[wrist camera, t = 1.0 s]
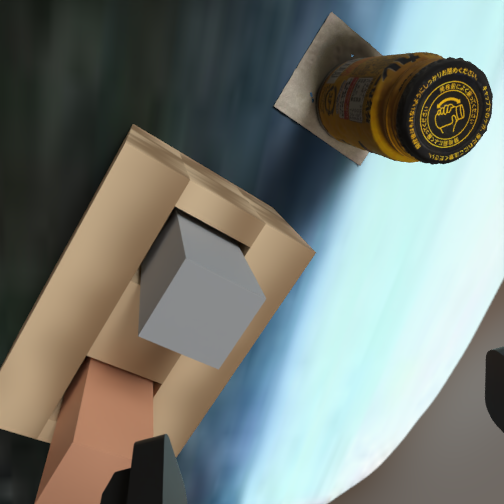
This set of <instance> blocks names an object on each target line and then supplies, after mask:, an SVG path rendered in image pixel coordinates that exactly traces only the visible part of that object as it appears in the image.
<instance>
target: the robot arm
mask: <svg viewBox="0 0 504 504" xmlns="http://www.w3.org/2000/svg"><path fill="white" fill-rule="evenodd" d="M485 381H486V382H485V402H486V407H487V410H488V412H489V414H490V416H491V418H492V420H493V421H494V422H495V424H496V425H497V426H498V427H499V428H500V429H501V430H502V431H503V433H504V347H500V348H496V349H493V350H490V351H488V353H487V355H486V380H485ZM100 504H187V498H186V492H185V487H184V482H183V479H182V476H181V473H180V470H179V466H178V463H177V460H176V457H175V454H174V451H173V448H172V445H171V442H170V439H169V436H168V435H167V434H163V435H159V436H156V437H152V438H148V439H144V440H140V441H136V442H135V443H134V446H133V454H132V462H131V468H128V469H124V470H121V471H117V472H114V474H113V476H112V478H111V479H110V481H109V483H108V485H107V486H106V488H105V490H104V491H103V493H102V496H101V502H100Z"/></svg>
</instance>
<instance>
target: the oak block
mask: <svg viewBox="0 0 504 504" xmlns="http://www.w3.org/2000/svg"><path fill="white" fill-rule="evenodd" d="M174 207H177V208H179V209H181V210H183V211H185V212H186V213H188V214H190V215H192V216H194V217H195V218H197V219H199V220H201V221H203V222H205V223H206V224H208V225H210V226H212V227H214V228H216V229H217V230H219V231H221V232H223V233H225V234H227V235H228V236H230V237H232V238H234V239H235V240H236V242H237V244H238V246H239V248H240V250H241V252H242V253H243V255H244V257H245V259H246V261H247V263H248V265H249V267H250V269H251V270H252V272H253V274H254V276H255V278H256V280H257V282H258V284H259V285H260V287H261V289H262V291H263V293H264V295H265V297H266V300H265V302H264V303H263V305H262V306H261V307H260V309H259V310H258V312H257V313H256V315H255V316H254V318H253V319H252V321H251V322H250V324H249V325H248V327H247V328H246V330H245V331H244V333H243V334H242V336H241V337H240V339H239V340H238V342H237V343H236V345H235V346H234V348H233V349H232V351H231V352H230V354H229V355H228V357H227V358H226V359H225V361H224V362H223V364H222V365H221V367H220V368H219V369H216V368H214V367H211V366H209V365H206V364H204V363H202V362H199V361H197V360H194V359H192V358H189V357H187V356H185V355H182V354H180V353H177V352H175V351H172V350H170V349H168V348H165V347H163V346H160V345H158V344H156V343H153V342H151V341H148V340H146V339H143V338H141V337H139V336H138V326H139V305H140V284H141V264H142V262H143V261H144V259H145V257H146V256H147V254H148V252H149V251H150V249H151V247H152V246H153V244H154V242H155V240H156V239H157V235H158V234H159V232H160V230H161V229H162V227H163V225H164V223H165V222H166V220H167V218H168V217H169V215H170V213H171V212H172V210H173V208H174ZM315 253H316V252H315V251H314V250H313V249H312V248H311V247H310V246H309V245H308V244H307V243H306V242H305V241H304V240H303V239H302V238H301V237H300V235H299V234H298V233H297V232H296V231H295V230H294V229H293V228H292V227H291V226H290V225H289V224H288V223H287V222H286V221H285V220H284V219H283V218H282V217H281V216H280V215H279V214H278V213H277V212H276V210H275V209H274V208H273V207H271V206H269V205H268V204H266V203H264V202H263V201H261V200H259V199H258V198H256V197H254V196H253V195H251V194H249V193H248V192H246V191H244V190H243V189H241V188H239V187H238V186H236V185H234V184H233V183H231V182H229V181H228V180H226V179H224V178H223V177H221V176H219V175H218V174H216V173H214V172H213V171H211V170H209V169H208V168H206V167H204V166H203V165H201V164H199V163H198V162H196V161H194V160H193V159H191V158H189V157H188V156H186V155H184V154H183V153H181V152H179V151H178V150H176V149H174V148H173V147H171V146H169V145H167V144H166V143H164V142H162V141H161V140H159V139H157V138H156V137H154V136H152V135H151V134H149V133H147V132H146V131H144V130H142V129H141V128H139V127H137V126H136V125H134V124H133V125H132V127H131V128H130V130H129V132H128V134H127V136H126V138H125V139H124V141H123V143H122V145H121V147H120V149H119V150H118V152H117V154H116V156H115V158H114V160H113V161H112V163H111V165H110V167H109V169H108V171H107V172H106V174H105V176H104V178H103V180H102V181H101V183H100V185H99V187H98V189H97V191H96V192H95V194H94V196H93V198H92V200H91V202H90V203H89V205H88V207H87V209H86V211H85V213H84V214H83V216H82V218H81V220H80V222H79V224H78V225H77V227H76V229H75V231H74V233H73V235H72V236H71V238H70V240H69V242H68V244H67V246H66V247H65V249H64V251H63V253H62V255H61V257H60V258H59V260H58V262H57V264H56V266H55V268H54V269H53V271H52V273H51V275H50V277H49V279H48V280H47V282H46V284H45V286H44V288H43V290H42V291H41V293H40V295H39V297H38V299H37V300H36V302H35V304H34V306H33V308H32V310H31V311H30V313H29V315H28V317H27V319H26V321H25V322H24V324H23V326H22V328H21V330H20V332H19V334H18V336H17V337H16V339H15V341H14V343H13V345H12V347H11V349H10V351H9V353H8V355H7V357H6V359H5V361H4V362H3V364H2V366H1V368H0V429H3V430H7V431H10V432H14V433H17V434H20V435H24V436H27V437H31V438H34V439H37V440H41V441H44V442H47V443H51V441H52V438H53V434H54V430H55V427H56V423H57V420H58V416H59V412H60V409H61V405H62V401H63V398H64V394H65V392H66V391H67V389H68V387H69V386H70V384H71V382H72V381H73V379H74V377H75V375H76V374H77V372H78V370H79V369H80V367H81V365H82V364H83V362H84V360H85V359H86V357H87V356H89V357H92V358H94V359H97V360H100V361H102V362H105V363H108V364H110V365H113V366H115V367H118V368H121V369H123V370H126V371H129V372H131V373H134V374H137V375H139V376H142V377H145V378H147V379H150V380H152V381H153V437H156V436H159V435H163V434H167V435H168V436H169V439H170V442H171V445H172V448H173V451H174V454H175V457H177V455H178V454H179V453H180V451H181V450H182V448H183V447H184V445H185V444H186V442H187V441H188V439H189V438H190V436H191V435H192V433H193V432H194V431H195V429H196V428H197V426H198V425H199V423H200V422H201V420H202V419H203V417H204V416H205V414H206V413H207V412H208V410H209V409H210V407H211V406H212V404H213V403H214V401H215V400H216V398H217V397H218V395H219V394H220V392H221V391H222V390H223V388H224V387H225V385H226V384H227V382H228V381H229V379H230V378H231V376H232V375H233V373H234V372H235V371H236V369H237V368H238V366H239V365H240V363H241V362H242V360H243V359H244V357H245V356H246V354H247V353H248V351H249V350H250V349H251V347H252V346H253V344H254V343H255V341H256V340H257V338H258V337H259V335H260V334H261V332H262V331H263V330H264V328H265V327H266V325H267V324H268V322H269V321H270V319H271V318H272V316H273V315H274V313H275V312H276V311H277V309H278V308H279V306H280V305H281V303H282V302H283V300H284V299H285V297H286V296H287V294H288V293H289V291H290V290H291V289H292V287H293V286H294V284H295V283H296V281H297V280H298V278H299V277H300V275H301V274H302V272H303V271H304V270H305V268H306V267H307V265H308V264H309V262H310V261H311V259H312V258H313V256H314V255H315Z"/></svg>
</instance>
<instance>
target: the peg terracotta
mask: <svg viewBox="0 0 504 504" xmlns="http://www.w3.org/2000/svg"><path fill="white" fill-rule="evenodd" d="M152 437H153V381H152V380H150V379H147V378H145V377H142V376H139V375H137V374H134V373H131V372H129V371H126V370H123V369H121V368H118V367H115V366H113V365H110V364H108V363H105V362H102V361H100V360H97V359H94V358H92V357H89V356H87V357H86V359H85V360H84V362H83V364H82V365H81V367H80V369H79V370H78V372H77V374H76V375H75V377H74V379H73V381H72V382H71V384H70V386H69V387H68V389H67V391H66V392H65V394H64V398H63V401H62V405H61V409H60V412H59V416H58V420H57V423H56V427H55V430H54V434H53V438H52V441H51V445H50V449H49V452H48V456H47V460H46V463H45V467H44V471H43V474H42V478H41V482H40V485H39V489H38V493H37V496H36V500H35V504H100V502H101V496H102V493H103V491H104V490H105V488H106V486H107V485H108V483H109V481H110V479H111V478H112V476H113V474H114V472H117V471H121V470H124V469H128V468H131V462H132V454H133V446H134V443H135V442H136V441H140V440H144V439H148V438H152Z"/></svg>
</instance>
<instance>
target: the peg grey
mask: <svg viewBox="0 0 504 504" xmlns="http://www.w3.org/2000/svg"><path fill="white" fill-rule="evenodd" d="M265 300H266V297H265V295H264V293H263V291H262V289H261V287H260V285H259V284H258V282H257V280H256V278H255V276H254V274H253V272H252V270H251V269H250V267H249V265H248V263H247V261H246V259H245V257H244V255H243V253H242V252H241V250H240V248H239V246H238V244H237V242H236V240H235V239H234V238H232V237H230V236H228V235H227V234H225V233H223V232H221V231H219V230H217V229H216V228H214V227H212V226H210V225H208V224H206V223H205V222H203V221H201V220H199V219H197V218H195V217H194V216H192V215H190V214H188V213H186V212H185V211H183V210H181V209H179V208H177V207H175V208H174V210H173V212H172V213H171V215H170V217H169V219H168V220H167V222H166V224H165V225H164V227H163V229H162V230H161V232H160V234H159V235H158V237H157V239H156V240H155V242H154V244H153V246H152V247H151V249H150V251H149V252H148V254H147V256H146V257H145V259H144V261H143V262H142V264H141V284H140V305H139V326H138V336H139V337H141V338H143V339H146V340H148V341H151V342H153V343H156V344H158V345H160V346H163V347H165V348H168V349H170V350H172V351H175V352H177V353H180V354H182V355H185V356H187V357H189V358H192V359H194V360H197V361H199V362H202V363H204V364H206V365H209V366H211V367H214V368H216V369H219V368H220V367H221V365H222V364H223V362H224V361H225V359H226V358H227V357H228V355H229V354H230V352H231V351H232V349H233V348H234V346H235V345H236V343H237V342H238V340H239V339H240V337H241V336H242V334H243V333H244V331H245V330H246V328H247V327H248V325H249V324H250V322H251V321H252V319H253V318H254V316H255V315H256V313H257V312H258V310H259V309H260V307H261V306H262V305H263V303H264V302H265Z"/></svg>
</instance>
